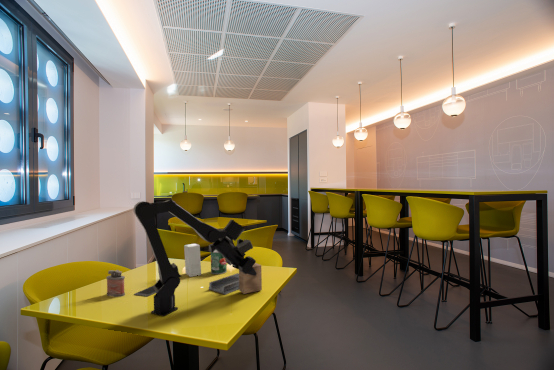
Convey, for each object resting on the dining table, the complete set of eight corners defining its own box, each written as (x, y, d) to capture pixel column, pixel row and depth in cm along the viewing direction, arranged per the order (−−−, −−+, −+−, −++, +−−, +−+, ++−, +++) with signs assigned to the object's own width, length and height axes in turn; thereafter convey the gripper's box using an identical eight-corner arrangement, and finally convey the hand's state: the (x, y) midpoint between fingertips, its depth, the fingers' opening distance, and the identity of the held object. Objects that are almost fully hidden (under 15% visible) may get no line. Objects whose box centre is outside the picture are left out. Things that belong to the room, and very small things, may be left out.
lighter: (127, 294, 117) (126, 269, 118) (120, 297, 114) (120, 272, 114) (111, 292, 120) (110, 268, 120) (104, 295, 116) (104, 271, 116)
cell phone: (133, 295, 116) (133, 294, 116) (158, 284, 129) (158, 283, 129) (147, 297, 114) (147, 295, 114) (171, 286, 127) (171, 284, 127)
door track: (225, 294, 114) (224, 287, 114) (208, 289, 120) (208, 282, 120) (252, 283, 126) (252, 276, 126) (236, 279, 133) (236, 273, 133)
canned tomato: (211, 270, 149) (210, 249, 149) (226, 269, 150) (226, 248, 151) (210, 274, 141) (210, 252, 141) (226, 273, 143) (226, 251, 143)
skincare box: (201, 275, 141) (200, 245, 141) (189, 277, 138) (188, 246, 138) (196, 271, 148) (195, 242, 148) (184, 273, 145) (183, 244, 145)
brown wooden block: (243, 293, 112) (243, 268, 113) (239, 290, 116) (238, 266, 116) (261, 289, 116) (261, 265, 117) (256, 286, 120) (256, 263, 121)
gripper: (250, 236, 107) (276, 262, 112) (231, 231, 123) (255, 253, 128) (231, 261, 103) (259, 286, 108) (214, 252, 119) (239, 274, 124)
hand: (253, 273), depth 117 cm, fingers closed on brown wooden block, 4 cm apart
